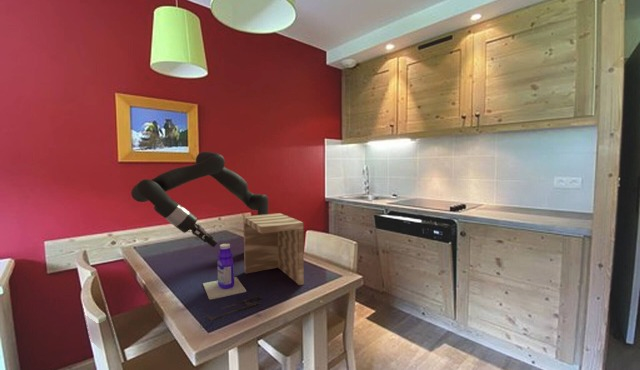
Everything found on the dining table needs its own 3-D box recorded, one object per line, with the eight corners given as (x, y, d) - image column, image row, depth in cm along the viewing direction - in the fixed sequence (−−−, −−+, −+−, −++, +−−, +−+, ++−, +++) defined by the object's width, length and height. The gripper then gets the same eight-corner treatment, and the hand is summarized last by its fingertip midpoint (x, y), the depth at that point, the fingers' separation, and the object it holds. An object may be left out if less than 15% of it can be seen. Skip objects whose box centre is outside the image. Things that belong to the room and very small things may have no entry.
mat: (203, 284, 124) (202, 283, 124) (236, 277, 131) (236, 276, 131) (209, 299, 110) (209, 298, 110) (246, 291, 117) (246, 290, 117)
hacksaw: (261, 297, 113) (260, 293, 113) (272, 308, 105) (272, 304, 105) (194, 316, 100) (194, 312, 99) (201, 330, 91) (201, 326, 91)
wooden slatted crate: (244, 272, 138) (243, 216, 136) (280, 265, 147) (279, 213, 145) (262, 293, 115) (261, 227, 113) (303, 284, 124) (303, 222, 122)
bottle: (215, 285, 122) (214, 244, 120) (228, 281, 126) (227, 241, 124) (223, 291, 117) (222, 248, 115) (236, 286, 121) (235, 245, 119)
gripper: (190, 214, 110) (223, 239, 117) (186, 208, 122) (216, 231, 129) (175, 229, 108) (210, 254, 115) (173, 222, 120) (204, 245, 127)
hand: (213, 242), depth 122 cm, fingers open, 8 cm apart
